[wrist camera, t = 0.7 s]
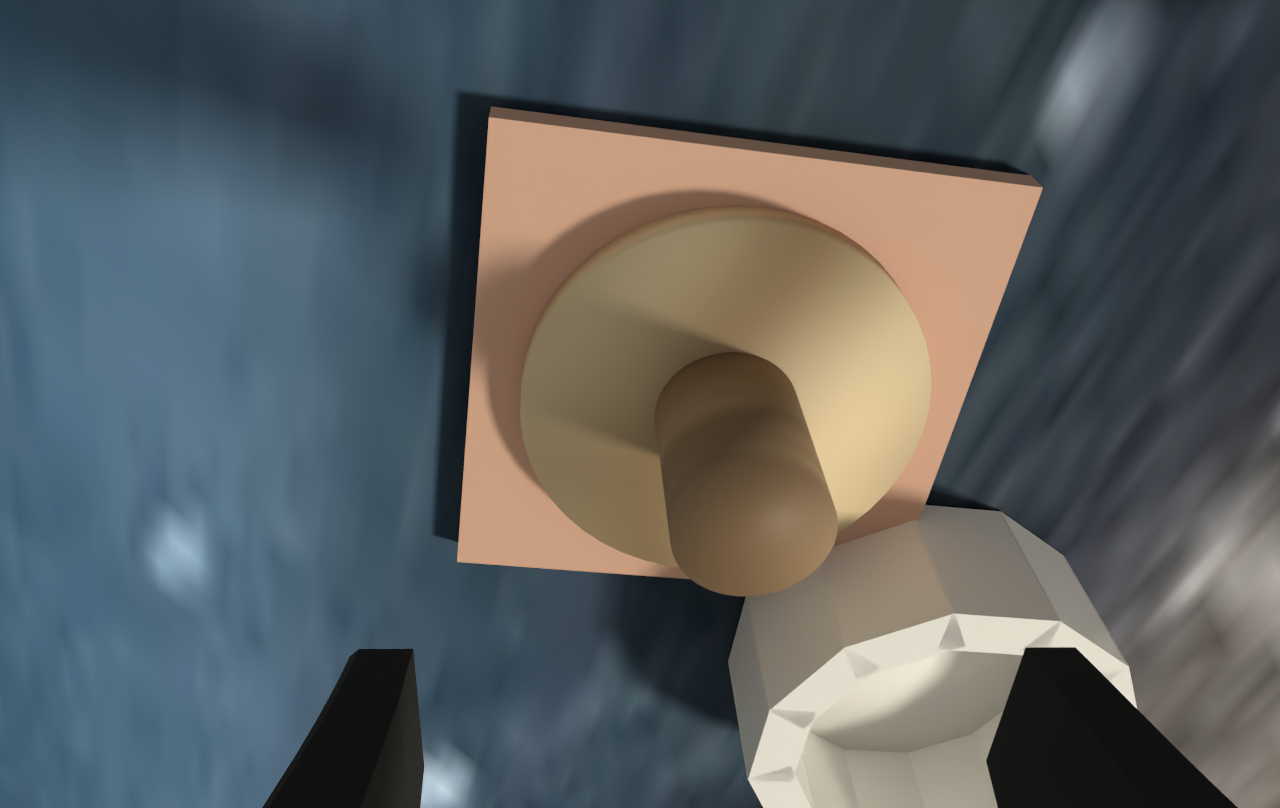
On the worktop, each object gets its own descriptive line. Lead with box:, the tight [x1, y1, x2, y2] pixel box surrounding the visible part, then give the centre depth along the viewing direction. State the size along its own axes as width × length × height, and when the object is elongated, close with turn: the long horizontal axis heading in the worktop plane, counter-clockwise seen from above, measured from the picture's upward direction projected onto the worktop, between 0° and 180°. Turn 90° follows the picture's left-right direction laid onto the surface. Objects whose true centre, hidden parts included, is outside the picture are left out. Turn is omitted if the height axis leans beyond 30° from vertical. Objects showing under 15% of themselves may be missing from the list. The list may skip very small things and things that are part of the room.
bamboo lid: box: [520, 205, 931, 596], centre depth 19 cm, size 8×8×4 cm
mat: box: [457, 106, 1043, 579], centre depth 21 cm, size 10×10×1 cm
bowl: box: [728, 505, 1137, 808], centre depth 25 cm, size 8×8×4 cm
